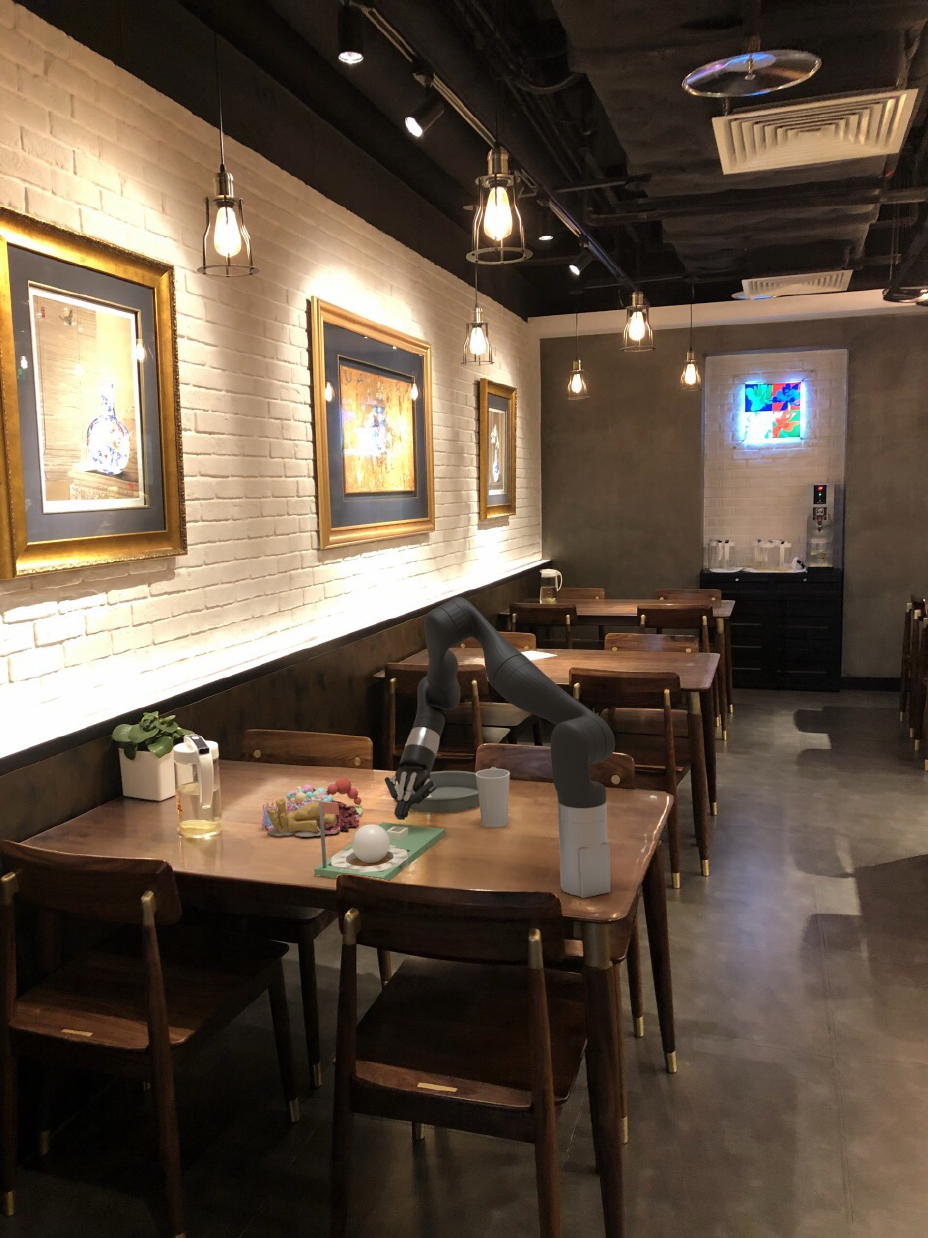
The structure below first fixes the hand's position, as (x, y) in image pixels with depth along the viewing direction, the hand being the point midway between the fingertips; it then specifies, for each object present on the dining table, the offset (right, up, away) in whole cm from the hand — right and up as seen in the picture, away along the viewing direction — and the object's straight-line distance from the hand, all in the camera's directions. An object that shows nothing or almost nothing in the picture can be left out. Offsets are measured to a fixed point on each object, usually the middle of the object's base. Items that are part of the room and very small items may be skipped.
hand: (399, 818), depth 212 cm
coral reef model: (-22, -5, +17) cm, 28 cm away
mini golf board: (-3, -6, -7) cm, 10 cm away
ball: (-5, -3, -12) cm, 13 cm away
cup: (+22, -4, +10) cm, 24 cm away
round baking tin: (+9, -2, +30) cm, 32 cm away
